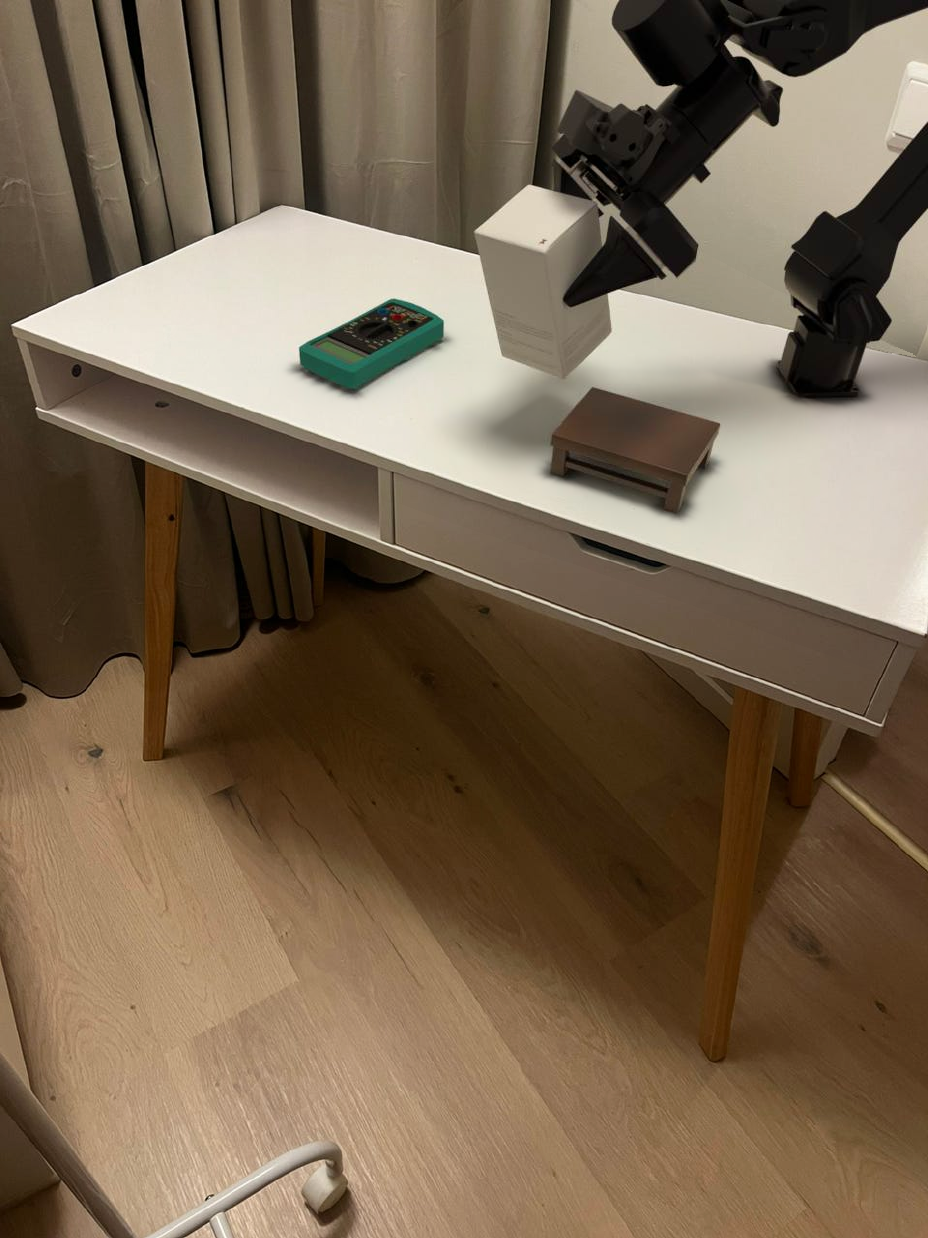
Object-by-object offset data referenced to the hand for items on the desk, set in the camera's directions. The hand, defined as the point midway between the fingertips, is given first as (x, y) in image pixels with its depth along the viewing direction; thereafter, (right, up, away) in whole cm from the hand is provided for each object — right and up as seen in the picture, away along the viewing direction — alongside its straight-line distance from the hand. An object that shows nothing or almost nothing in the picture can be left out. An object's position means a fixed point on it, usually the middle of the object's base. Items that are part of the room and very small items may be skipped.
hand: (546, 278), depth 83 cm
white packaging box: (+1, -4, +5) cm, 7 cm away
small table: (+8, -15, +4) cm, 18 cm away
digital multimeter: (-16, -2, +17) cm, 24 cm away
